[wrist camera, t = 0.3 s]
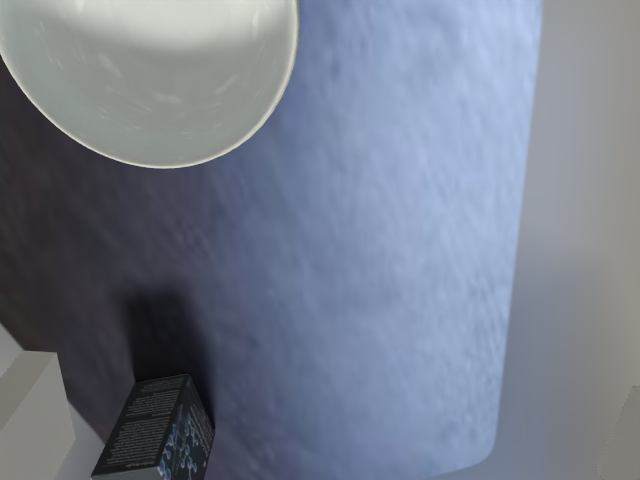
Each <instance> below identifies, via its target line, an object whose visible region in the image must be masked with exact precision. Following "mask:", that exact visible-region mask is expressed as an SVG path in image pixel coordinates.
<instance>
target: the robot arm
mask: <svg viewBox="0 0 640 480" xmlns="http://www.w3.org/2000/svg"><path fill="white" fill-rule="evenodd" d="M75 439H76V438H75V433H74V429H73V425H72V420H71V416H70V411H69V407H68V402H67V398H66V393H65V389H64V385H63V380H62V376H61V371H60V367H59V362H58V358H57V353H52V352H35V351H22V352H21V353H20V354H19V356H18V357H17V358H16V359H15V360H14V362H13V363H12V364H11V366H10V367H9V368H8V369H7V371H6V372H5V373H4V374H3V376H2V377H1V378H0V480H54V479H55V477H56V475H57V473H58V471H59V469H60V467H61V466H62V464H63V462H64V460H65V458H66V456H67V454H68V452H69V451H70V449H71V447H72V445H73V443H74V441H75ZM596 468H597V470H598V472H599V474H600V476H601V478H602V480H640V386H633V387H632V389H631V391H630V393H629V395H628V398H627V400H626V402H625V404H624V407H623V409H622V411H621V413H620V415H619V418H618V420H617V422H616V424H615V427H614V429H613V431H612V434H611V436H610V438H609V440H608V442H607V444H606V447H605V449H604V451H603V454H602V456H601V458H600V460H599V462H598V465H597V467H596Z"/></svg>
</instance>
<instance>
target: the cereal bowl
mask: <svg viewBox="0 0 640 480" xmlns="http://www.w3.org/2000/svg"><path fill="white" fill-rule="evenodd" d="M299 5H300V3H299V0H0V54H1V56H2V58H3V60H4V62H5V64H6V66H7V67H8V69H9V71H10V73H11V75H12V76H13V78H14V79H15V81H16V82H17V83H18V85H19V86H20V88H21V89H22V91H23V92H24V93H25V94H26V96H27V97H28V98H29V99H30V100H31V102H32V103H33V104H34V105H35V106H36V107H37V108H38V109H39V110H40V111H41V112H42V113H43V114H44V115H45V116H46V117H47V118H48V119H49V120H50V121H51V122H52V123H53V124H54V125H56V126H57V127H58V128H59V129H60V130H62V131H63V132H64V133H66V134H67V135H69V136H70V137H71V138H73V139H74V140H76V141H77V142H79V143H81V144H82V145H84V146H86V147H88V148H89V149H91V150H93V151H95V152H97V153H100V154H102V155H104V156H106V157H109V158H112V159H115V160H117V161H121V162H124V163H127V164H132V165H137V166H142V167H150V168H178V167H186V166H192V165H196V164H200V163H203V162H206V161H209V160H212V159H214V158H217V157H219V156H221V155H223V154H226V153H228V152H229V151H231V150H233V149H234V148H236V147H238V146H239V145H241V144H242V143H243V142H245V141H246V140H247V139H249V138H250V137H251V136H252V135H253V134H254V133H255V132H256V131H257V130H258V129H259V128H260V127H261V126H263V124H264V123H265V121H266V120H267V119H268V118H269V116H270V115H271V114H272V113H273V111H274V109H275V107H276V105H277V104H278V103H279V100H280V99H281V98H282V96H283V93H284V90H285V89H286V87H287V84H288V82H289V81H290V77H291V73H292V72H293V67H294V65H295V59H296V55H297V48H298V45H299V35H300V9H299Z"/></svg>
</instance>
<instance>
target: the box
mask: <svg viewBox="0 0 640 480" xmlns="http://www.w3.org/2000/svg"><path fill="white" fill-rule="evenodd" d="M214 435H215V431H214V429H213V427H212V425H211V422H210V420H209V417H208V415H207V413H206V411H205V408H204V406H203V403H202V401H201V399H200V397H199V394H198V392H197V390H196V387H195V385H194V382H193V380H192V377H191V375H190V374H181V375H176V376H170V377H164V378H158V379H152V380H145V381H140V382H136V383H135V384H134V386H133V388H132V390H131V392H130V395H129V397H128V399H127V401H126V403H125V405H124V407H123V409H122V412H121V414H120V416H119V418H118V420H117V422H116V424H115V426H114V428H113V430H112V433H111V435H110V437H109V439H108V441H107V443H106V445H105V447H104V449H103V452H102V454H101V456H100V458H99V460H98V462H97V464H96V466H95V468H94V470H93V473H92V474H91V477H90V479H91V480H204V477H205V472H206V468H207V464H208V460H209V456H210V452H211V448H212V444H213V440H214Z"/></svg>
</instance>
